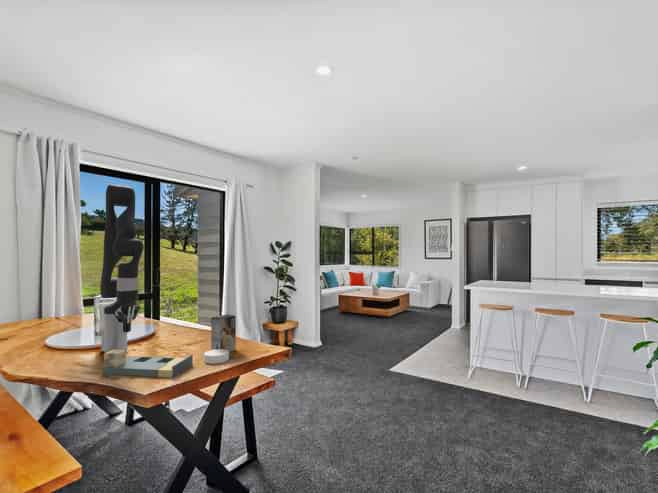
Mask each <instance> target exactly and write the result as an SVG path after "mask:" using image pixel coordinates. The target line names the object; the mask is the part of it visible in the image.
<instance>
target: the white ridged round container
mask: <svg viewBox="0 0 658 493" xmlns="http://www.w3.org/2000/svg"><path fill="white" fill-rule="evenodd" d="M229 359H230V352H229V351H228V350H225V349H214V350H210V349H209V350H207V351H205V352H204V354H203V362H204V363H206V364H211V365H212V364H213V365H214V364H215V365H216V364H217V365H218V364H222V363H226V362H228V361H229Z"/></svg>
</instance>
